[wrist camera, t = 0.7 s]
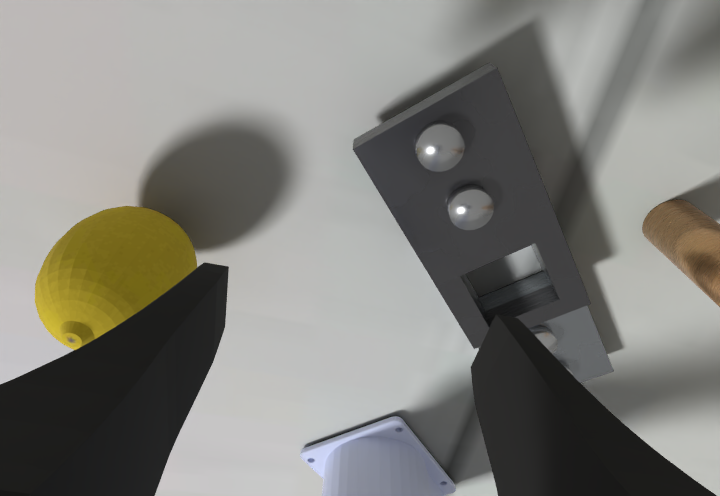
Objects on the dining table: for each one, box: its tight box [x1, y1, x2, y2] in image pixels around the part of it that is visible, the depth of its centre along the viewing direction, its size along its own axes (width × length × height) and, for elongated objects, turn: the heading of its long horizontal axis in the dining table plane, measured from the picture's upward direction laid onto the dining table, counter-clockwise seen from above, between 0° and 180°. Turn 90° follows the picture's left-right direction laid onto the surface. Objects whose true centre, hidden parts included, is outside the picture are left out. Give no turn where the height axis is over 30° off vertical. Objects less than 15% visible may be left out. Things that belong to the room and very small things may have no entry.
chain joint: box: [353, 62, 614, 382], centre depth 22 cm, size 19×6×3 cm, turn 30°
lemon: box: [35, 206, 197, 350], centre depth 19 cm, size 6×6×8 cm
